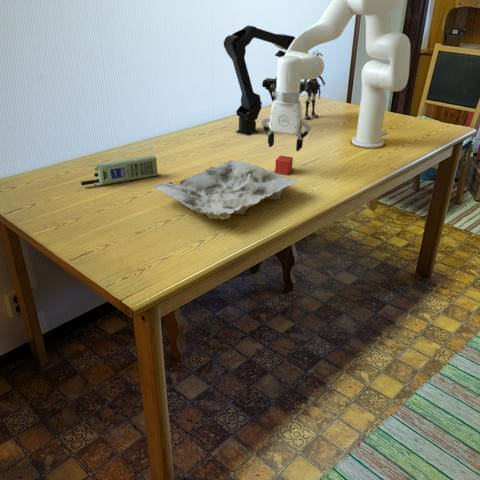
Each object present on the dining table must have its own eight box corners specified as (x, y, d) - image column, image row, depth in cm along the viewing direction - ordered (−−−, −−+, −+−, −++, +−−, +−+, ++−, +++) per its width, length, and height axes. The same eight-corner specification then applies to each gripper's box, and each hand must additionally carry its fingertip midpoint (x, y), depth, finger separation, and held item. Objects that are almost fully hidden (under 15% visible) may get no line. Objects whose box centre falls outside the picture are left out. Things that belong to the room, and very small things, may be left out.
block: (280, 167, 178) (280, 155, 176) (292, 170, 177) (292, 157, 174) (275, 172, 174) (275, 159, 172) (287, 174, 173) (288, 161, 171)
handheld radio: (158, 176, 170) (83, 189, 160) (155, 173, 172) (80, 186, 162) (156, 157, 167) (79, 169, 157) (153, 154, 169) (77, 166, 159)
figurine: (304, 121, 228) (309, 51, 213) (294, 118, 232) (298, 49, 217) (325, 115, 237) (331, 47, 222) (315, 113, 240) (320, 46, 226)
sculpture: (145, 207, 151) (219, 236, 133) (144, 188, 148) (218, 215, 130) (230, 174, 176) (301, 195, 158) (230, 157, 173) (302, 177, 155)
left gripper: (258, 68, 207) (257, 107, 215) (302, 72, 201) (299, 112, 209) (267, 64, 216) (266, 101, 224) (309, 68, 210) (306, 105, 217)
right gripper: (258, 96, 163) (256, 147, 171) (310, 102, 157) (306, 155, 165) (266, 91, 169) (264, 141, 177) (316, 97, 163) (312, 148, 171)
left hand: (283, 105), depth 218 cm, fingers open, 9 cm apart
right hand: (284, 147), depth 171 cm, fingers open, 9 cm apart
